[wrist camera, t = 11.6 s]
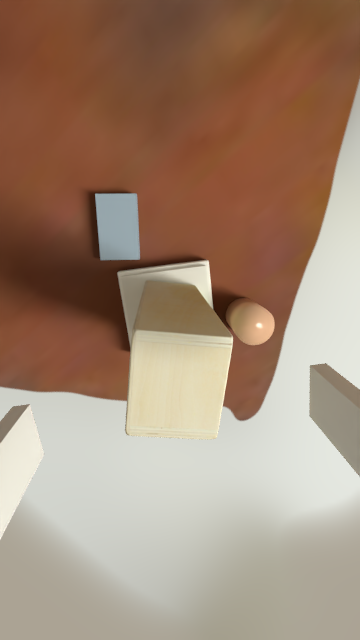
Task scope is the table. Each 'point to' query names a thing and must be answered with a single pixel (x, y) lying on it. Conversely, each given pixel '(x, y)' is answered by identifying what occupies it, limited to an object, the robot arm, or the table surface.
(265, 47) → the table surface
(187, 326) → the tall cream block
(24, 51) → the table surface
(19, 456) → the robot arm
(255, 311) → the peach egg shape
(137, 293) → the podium
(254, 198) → the table surface
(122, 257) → the book
